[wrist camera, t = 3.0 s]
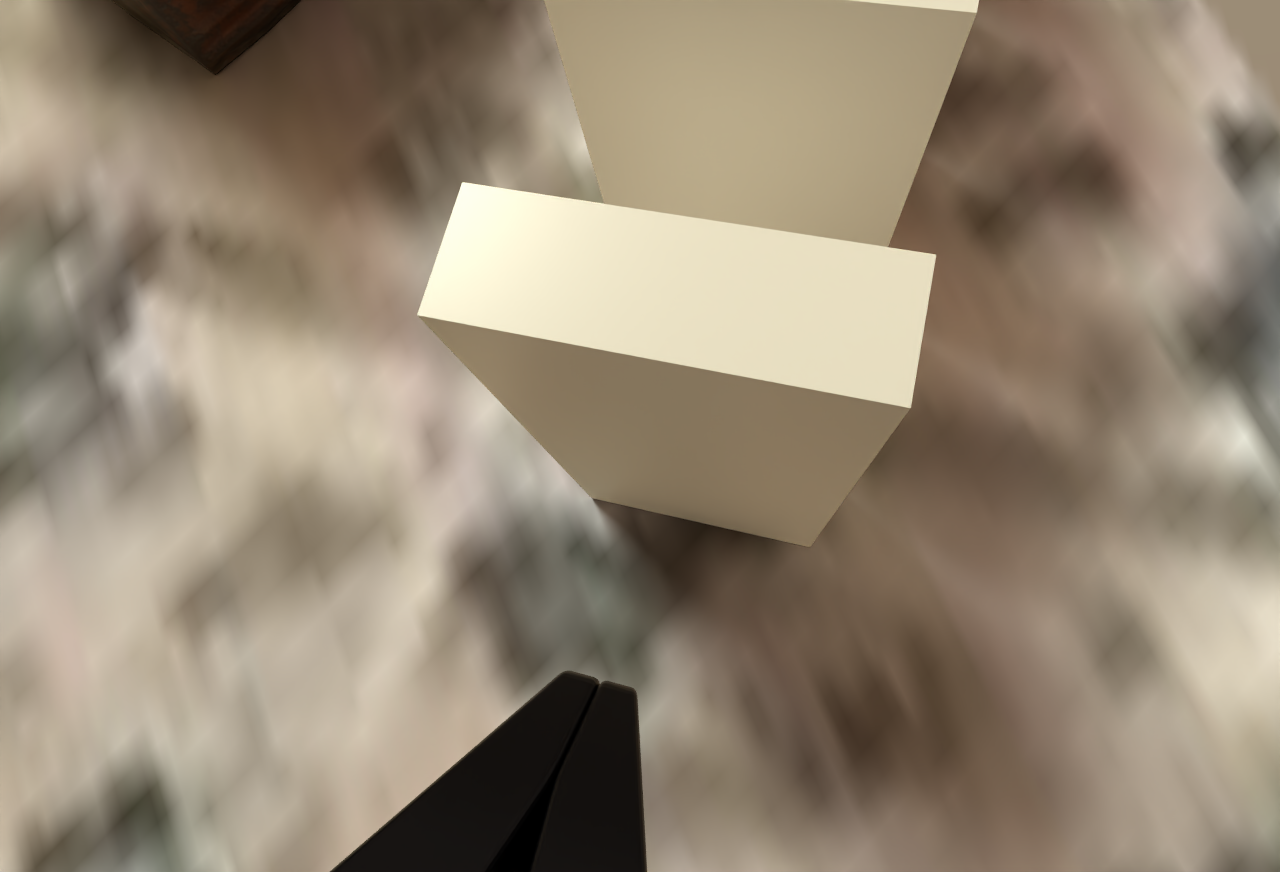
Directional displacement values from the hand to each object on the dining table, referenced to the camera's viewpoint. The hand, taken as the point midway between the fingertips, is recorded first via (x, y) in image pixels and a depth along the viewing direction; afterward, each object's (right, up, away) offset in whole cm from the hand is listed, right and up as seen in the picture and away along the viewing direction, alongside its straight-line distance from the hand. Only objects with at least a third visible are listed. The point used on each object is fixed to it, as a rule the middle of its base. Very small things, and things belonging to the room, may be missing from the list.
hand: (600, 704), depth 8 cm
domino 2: (+2, +2, +9) cm, 9 cm away
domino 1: (+3, +6, +10) cm, 12 cm away
